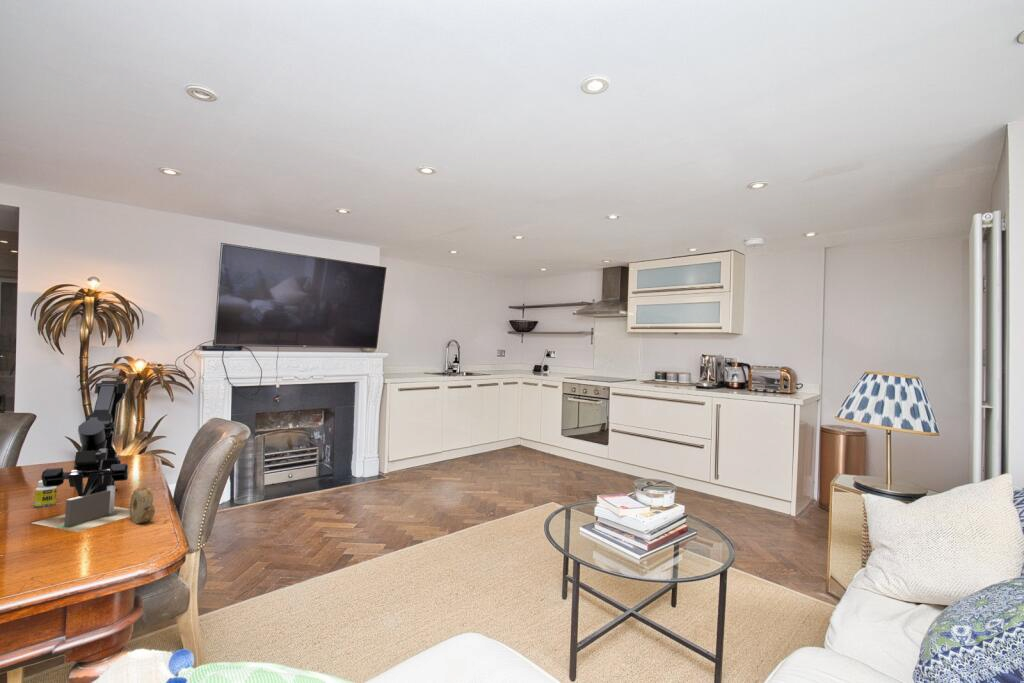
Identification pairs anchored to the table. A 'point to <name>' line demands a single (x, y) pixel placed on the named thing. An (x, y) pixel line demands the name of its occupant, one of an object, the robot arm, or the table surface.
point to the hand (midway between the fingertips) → (81, 500)
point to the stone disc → (142, 505)
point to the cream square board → (60, 520)
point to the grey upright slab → (89, 506)
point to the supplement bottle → (44, 496)
